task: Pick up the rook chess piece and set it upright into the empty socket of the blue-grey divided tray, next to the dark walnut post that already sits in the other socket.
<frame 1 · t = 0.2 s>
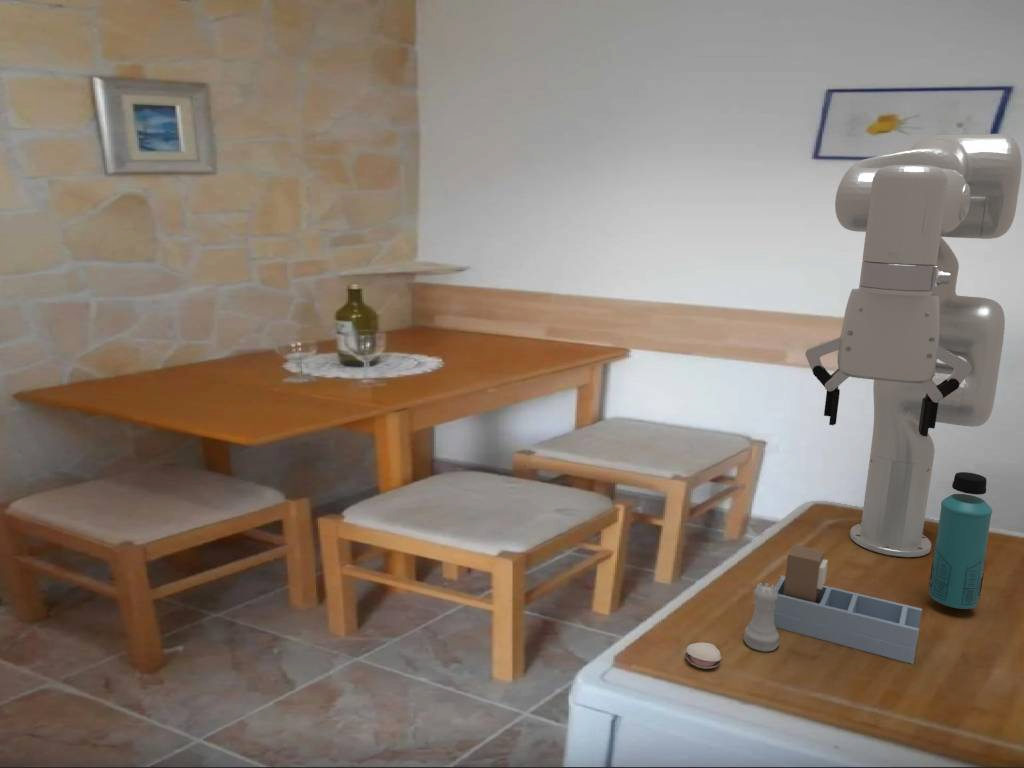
hand: (876, 428, 95), 30 cm above the counter, tool pointing down, fingers open, 9 cm apart
beverage bottle: (950, 609, 117), on the counter
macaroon: (704, 663, 101), on the counter
blue-grey divided tray: (841, 632, 109), on the counter
rook chess piece: (760, 645, 106), on the counter
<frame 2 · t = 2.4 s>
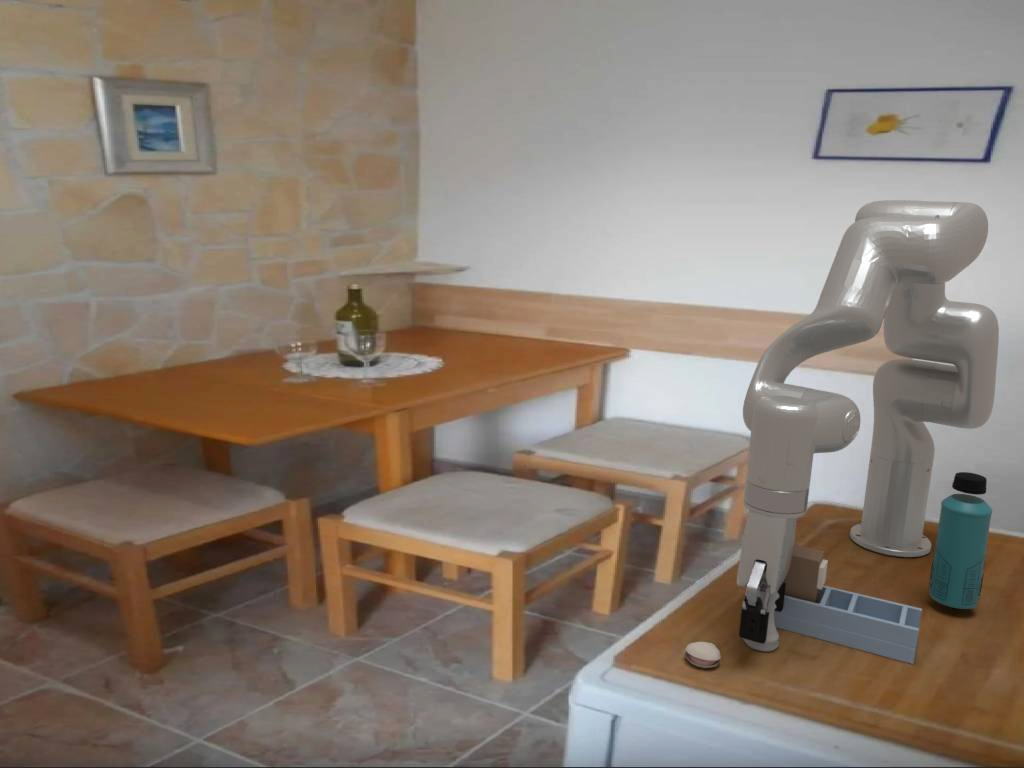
hand: (761, 623, 105), 3 cm above the counter, tool pointing down, fingers open, 9 cm apart
nothing on the counter moved.
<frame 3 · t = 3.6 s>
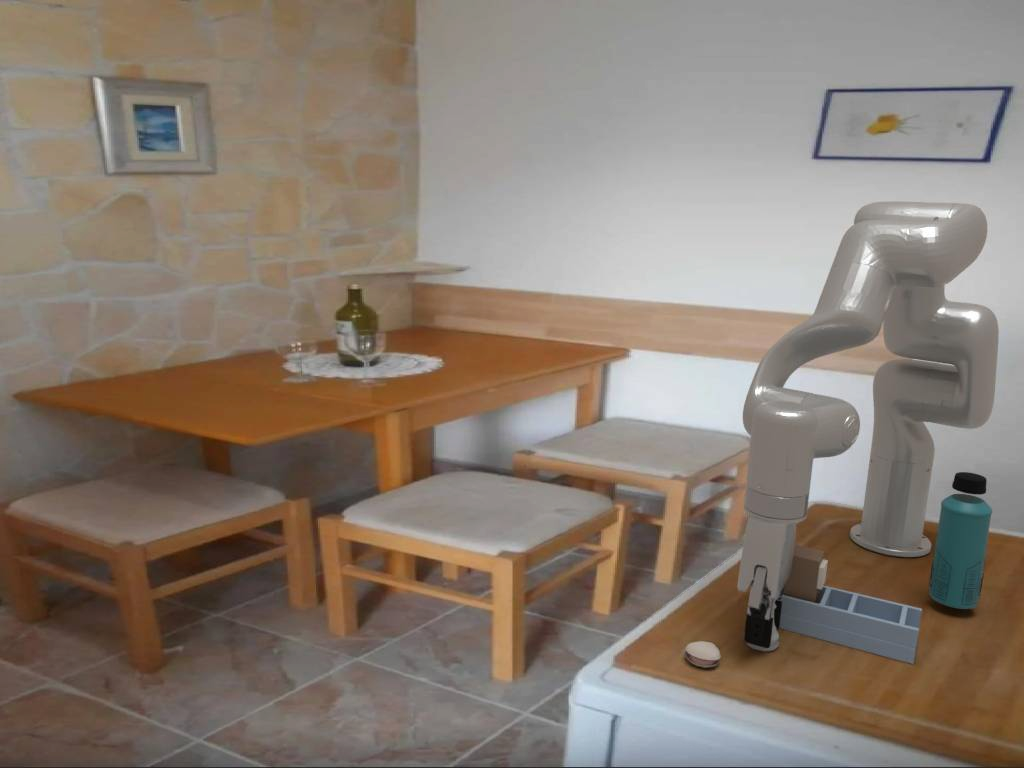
hand: (761, 634, 106), 1 cm above the counter, tool pointing down, fingers closed on rook chess piece, 4 cm apart
rook chess piece: (760, 645, 106), on the counter, touching gripper
everything else where it was.
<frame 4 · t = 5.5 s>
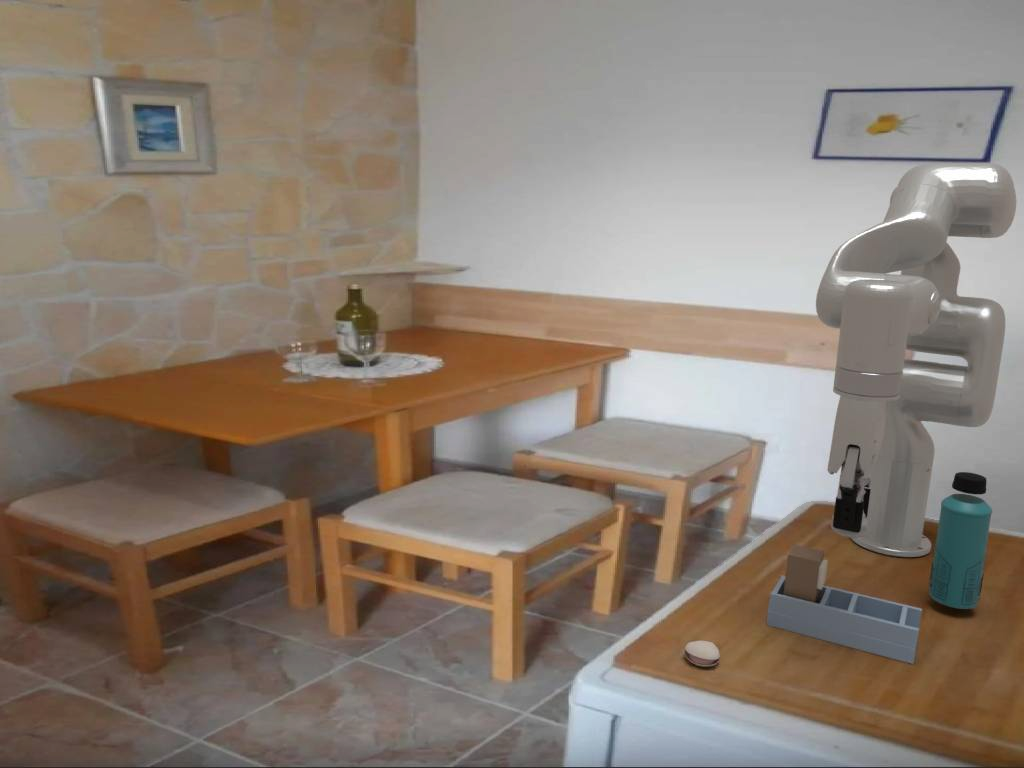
hand: (850, 521, 104), 17 cm above the counter, tool pointing down, fingers closed on rook chess piece, 4 cm apart
rook chess piece: (848, 533, 104), point 15 cm above the counter, touching gripper
everything else where it was.
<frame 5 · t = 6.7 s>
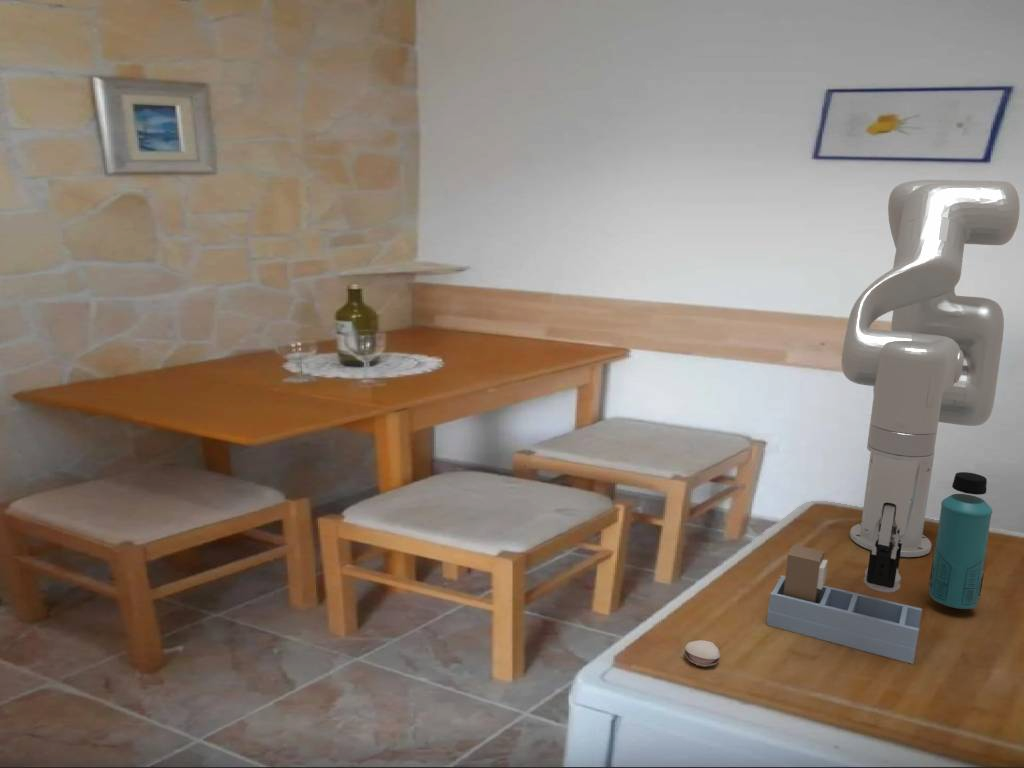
hand: (882, 575, 106), 9 cm above the counter, tool pointing down, fingers closed on rook chess piece, 4 cm apart
rook chess piece: (881, 587, 106), point 8 cm above the counter, touching gripper
everything else where it was.
when the fingers open (5 cm above the counter, at t = 7.6 s): rook chess piece drops 2 cm, resting on blue-grey divided tray.
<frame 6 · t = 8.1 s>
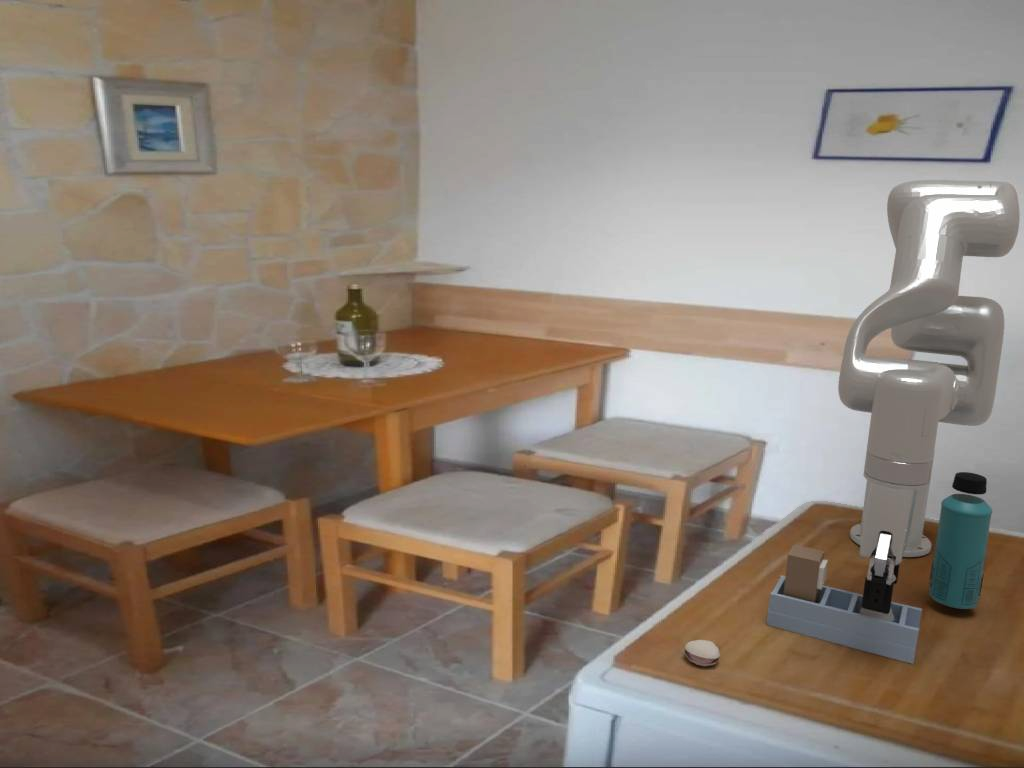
hand: (879, 595, 106), 6 cm above the counter, tool pointing down, fingers open, 9 cm apart
rook chess piece: (875, 627, 107), point 2 cm above the counter, touching blue-grey divided tray
everything else where it was.
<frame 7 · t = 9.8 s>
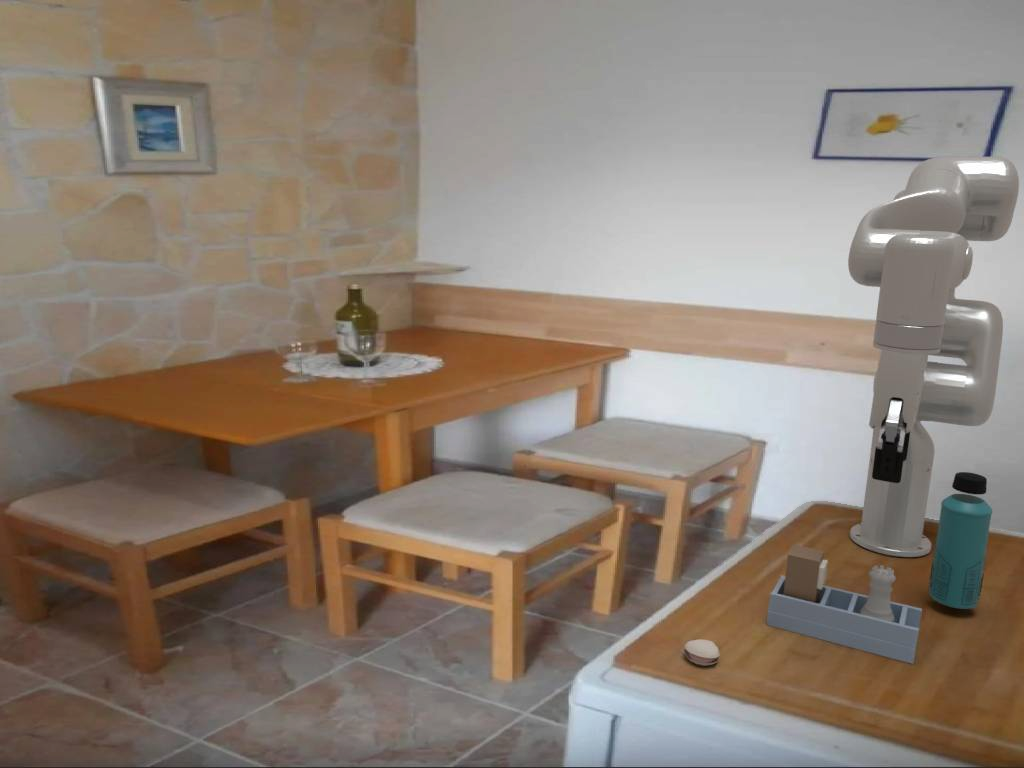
hand: (889, 469, 104), 23 cm above the counter, tool pointing down, fingers open, 9 cm apart
nothing on the counter moved.
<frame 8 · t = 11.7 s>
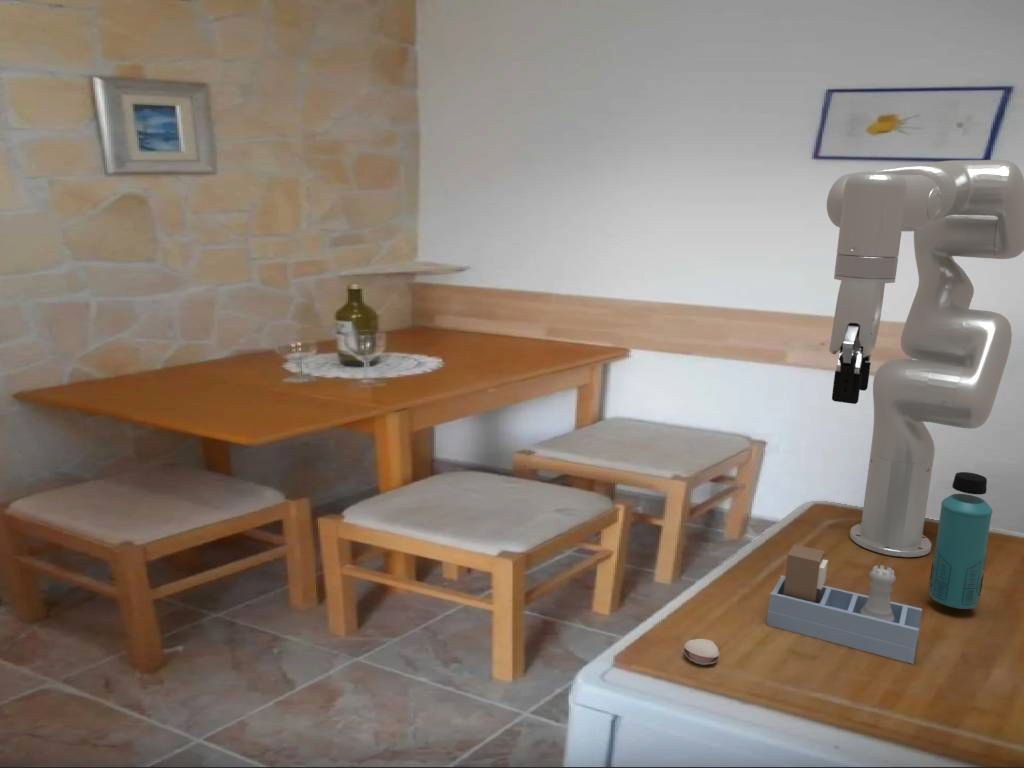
hand: (849, 395, 112), 30 cm above the counter, tool pointing down, fingers open, 9 cm apart
nothing on the counter moved.
at the end: rook chess piece 0.2 cm from the target spot on the blue-grey divided tray, point 1.8 cm above the blue-grey divided tray's base; rook chess piece tilted 0°; the gripper is holding nothing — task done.
